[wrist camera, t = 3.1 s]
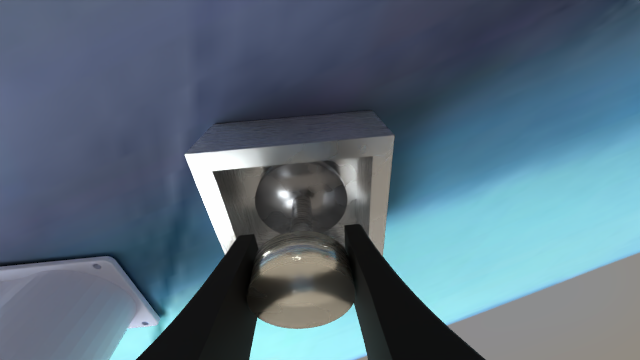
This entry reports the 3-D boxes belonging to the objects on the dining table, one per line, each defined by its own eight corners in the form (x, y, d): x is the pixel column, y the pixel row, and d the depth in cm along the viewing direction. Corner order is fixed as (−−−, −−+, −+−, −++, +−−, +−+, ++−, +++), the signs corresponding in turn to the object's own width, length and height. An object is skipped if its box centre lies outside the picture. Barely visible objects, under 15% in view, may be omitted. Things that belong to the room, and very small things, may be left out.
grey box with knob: (256, 263, 17) (247, 310, 15) (213, 124, 12) (184, 154, 9) (365, 251, 18) (378, 296, 15) (371, 110, 12) (394, 135, 9)
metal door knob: (265, 233, 14) (246, 342, 9) (247, 161, 12) (207, 258, 7) (346, 225, 14) (370, 329, 9) (345, 152, 12) (377, 241, 7)
